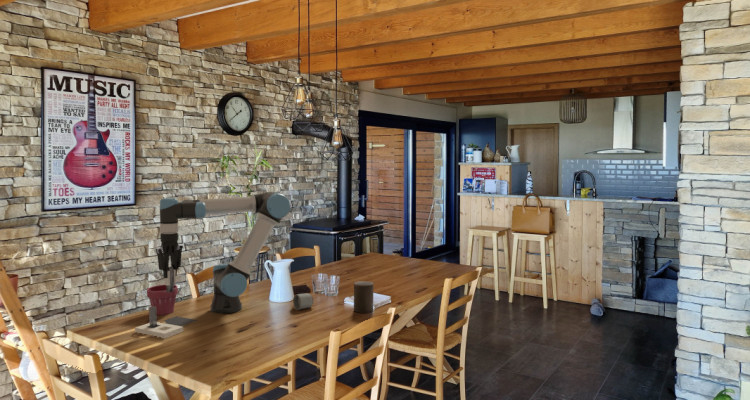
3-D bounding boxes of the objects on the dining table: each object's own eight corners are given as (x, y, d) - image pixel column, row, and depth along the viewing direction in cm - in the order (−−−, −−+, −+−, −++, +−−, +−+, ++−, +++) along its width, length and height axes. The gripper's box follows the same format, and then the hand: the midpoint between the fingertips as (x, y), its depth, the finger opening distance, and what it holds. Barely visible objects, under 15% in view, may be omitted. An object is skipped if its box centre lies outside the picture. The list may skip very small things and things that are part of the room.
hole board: (154, 326, 238) (154, 321, 238) (183, 332, 230) (183, 326, 230) (135, 333, 229) (134, 327, 229) (164, 339, 221) (164, 333, 221)
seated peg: (154, 330, 233) (153, 305, 232) (158, 331, 232) (157, 306, 231) (148, 332, 230) (147, 307, 230) (153, 333, 229) (152, 308, 228)
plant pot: (143, 313, 259) (141, 287, 258) (171, 307, 269) (170, 282, 268) (155, 319, 249) (153, 292, 248) (183, 313, 259) (182, 287, 258)
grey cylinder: (314, 308, 265) (314, 293, 265) (300, 311, 260) (300, 296, 260) (303, 304, 273) (303, 289, 273) (289, 307, 268) (289, 292, 268)
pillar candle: (361, 314, 254) (361, 283, 253) (349, 309, 262) (350, 279, 261) (377, 311, 260) (377, 281, 259) (365, 306, 268) (366, 277, 267)
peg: (170, 290, 241) (170, 266, 240) (175, 290, 239) (174, 266, 239) (165, 291, 238) (164, 267, 237) (169, 292, 237) (169, 268, 236)
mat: (176, 317, 252) (176, 316, 252) (198, 320, 246) (198, 320, 246) (152, 325, 240) (152, 324, 240) (174, 329, 234) (174, 328, 234)
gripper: (177, 230, 245) (178, 280, 247) (148, 233, 232) (149, 286, 234) (188, 231, 242) (189, 281, 243) (160, 235, 228) (161, 288, 230)
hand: (170, 284), depth 238 cm, fingers closed on peg, 2 cm apart
